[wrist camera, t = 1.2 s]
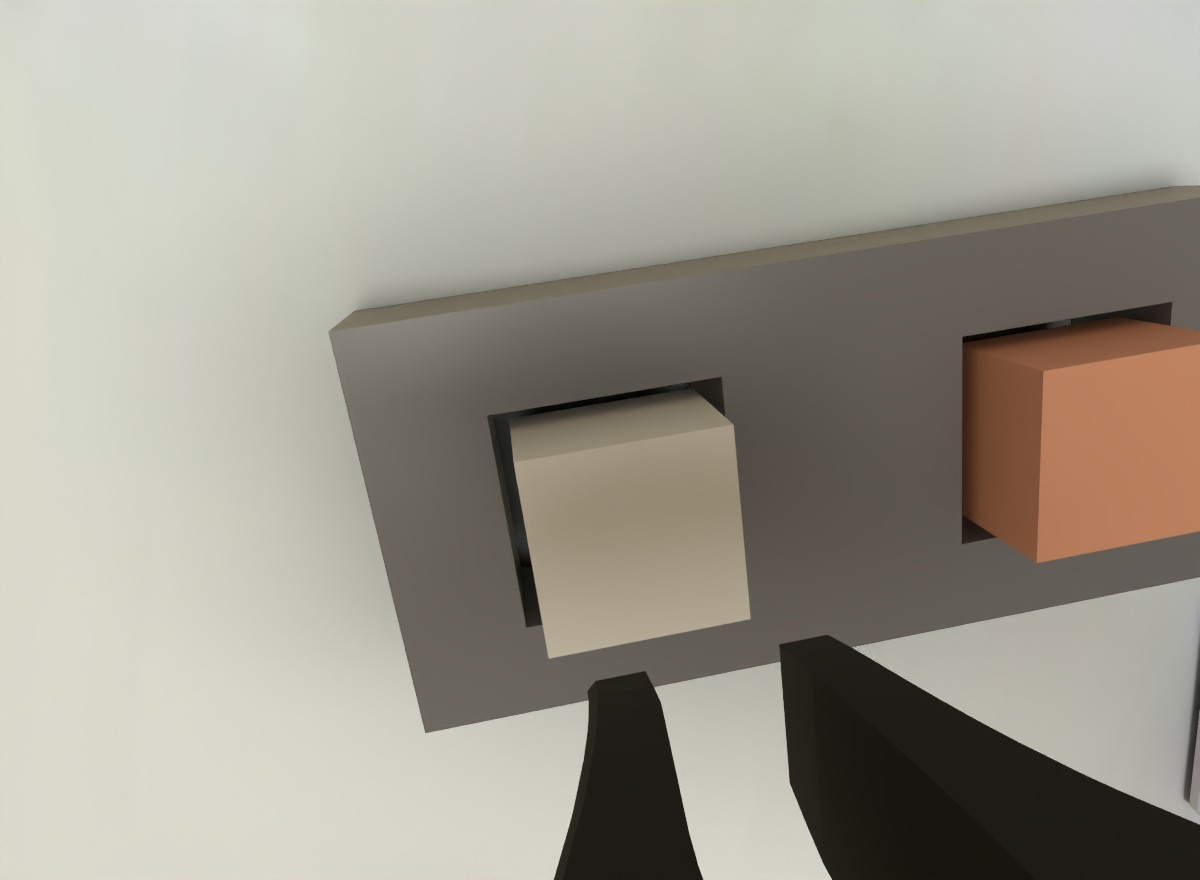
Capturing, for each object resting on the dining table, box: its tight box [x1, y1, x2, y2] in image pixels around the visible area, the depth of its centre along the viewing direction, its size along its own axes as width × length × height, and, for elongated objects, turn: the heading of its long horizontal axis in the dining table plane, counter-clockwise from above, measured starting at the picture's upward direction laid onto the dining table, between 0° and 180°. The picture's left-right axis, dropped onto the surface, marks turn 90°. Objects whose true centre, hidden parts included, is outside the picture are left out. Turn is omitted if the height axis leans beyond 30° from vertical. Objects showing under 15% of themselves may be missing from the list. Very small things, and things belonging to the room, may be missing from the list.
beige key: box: [509, 388, 751, 659], centre depth 16 cm, size 4×4×3 cm
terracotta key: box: [962, 317, 1200, 563], centre depth 17 cm, size 4×4×3 cm
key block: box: [329, 186, 1200, 733], centre depth 18 cm, size 20×9×3 cm, turn 98°
